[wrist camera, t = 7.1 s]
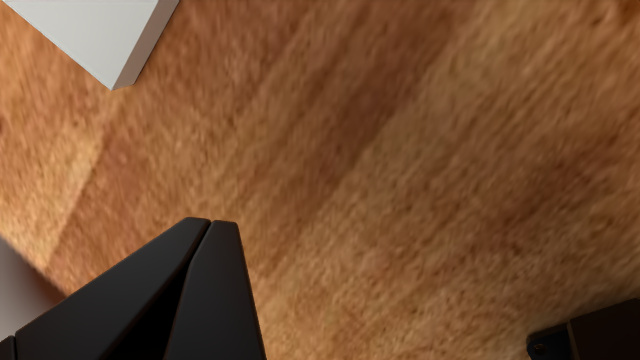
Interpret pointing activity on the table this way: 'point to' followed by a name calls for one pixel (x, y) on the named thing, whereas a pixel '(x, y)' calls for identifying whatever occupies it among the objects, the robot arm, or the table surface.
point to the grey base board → (101, 32)
